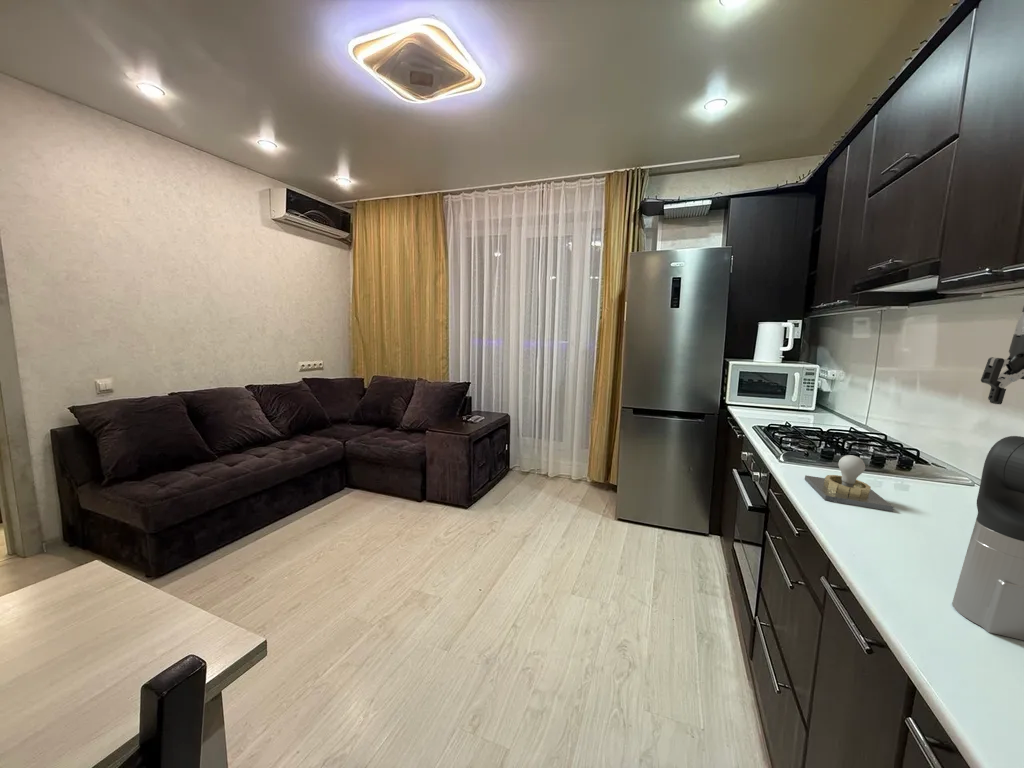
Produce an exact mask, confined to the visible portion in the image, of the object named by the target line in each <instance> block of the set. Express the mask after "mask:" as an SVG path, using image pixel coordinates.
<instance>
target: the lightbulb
mask: <svg viewBox="0 0 1024 768" xmlns="http://www.w3.org/2000/svg"><path fill="white" fill-rule="evenodd" d="M837 464H838V468H839V471H840V473H841V476H842V485H845V486H848V487H853V484H854V483H855V481H856V480H858V477H859V476H861V475H862V474H863V473H864V471H865V470H866V463H865V462H864V460H863V459H862V458H861V457H859V456H856V455H854V454H853V455H851V454H847V455H844V456H842V457H840V459H839V461H838V463H837Z"/></svg>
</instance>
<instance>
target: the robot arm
mask: <svg viewBox="0 0 1024 768" xmlns="http://www.w3.org/2000/svg"><path fill="white" fill-rule="evenodd" d="M1021 311H1022V312H1021V314H1020V316H1019V318H1018V320H1017V322H1016V326H1015V328H1014V332H1013V336H1012V340H1011V342H1010V346H1009V349H1008V353H1009V356H1008V357H1007V358H1001V357H992V356H991V357H989V358H988V359H987V362H986V365H985V368H984V370H983V372H982V376H981V379H980V382H981V383H983V384H986V385H989V386H990V390H989V394H988V397H987V400H988V401H989V403H990V404H995V405H1002V403H1003V402H1004V398H1005V395H1006V390H1007V388H1006V387H1007V386H1009V385H1010V384H1012V383H1013V382H1017V381H1019V380H1024V306H1023V307H1022V310H1021ZM1005 367H1006V369H1005V370H1004V371H1002V369H1003V368H1005ZM1001 371H1002V372H1001ZM976 497H977V499H976V508H977V514H976V519H975V521H974V525H973V529H972V533H971V536H970V539H969V543H968V545H967V550H966V553H965V556H964V560H963V562H962V563H963V564H962V566H961V570H960V574H959V578H958V581H957V584H956V588H955V591H954V594H953V600H952V602H951V604H952V607H953V608H954V610H955V611H957V612H958V613H959V614H960V615H961V616H963V617H964V618H966V619H967V620H969V621H971V622H973V623H974V624H976V625H978V626H979V627H982V628H983V630H985V631H986V632H988V633H991V634H994V635H998V636H999V635H1000V636H1005V637H1008V638H1013V639H1017V640H1021V641H1024V436H1021V435H1020V436H1018V435H1011V436H1005V437H1003V438H1000V440H997V441H996V442H995V443H994V444H993V445H992V446H991V448H990V449H989V451H988V453H987V455H986V458H985V459H984V463H983V467H982V473H981V478H980V484H979V489H978V493H977V496H976Z"/></svg>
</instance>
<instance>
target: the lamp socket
mask: <svg viewBox="0 0 1024 768" xmlns="http://www.w3.org/2000/svg"><path fill="white" fill-rule="evenodd" d="M803 480H804V481H805V482H807V484H808V485H809V486H810V487H811V488H812V489H813V490H814V491H815V492H816V493H817V494H818V495H819V496H820V497H821V498H822V500H823V501H827V502H833V503H837V504H838V503H839V504H844V505H850V506H854V507H855V506H856V507H862V508H868V509H875V510H880V511H886V512H894V508H895V507H894V506H893V504H891V503H890V502H888V501H887V500H886V499H885V498H883V497H882V496H880V495H879V494H878V493H877V492H875V491H874V490H873V489H871V488H872V487H871V486H870V485H869V484H867V482H863V481H861V480H858V479H856V481H855V483H854V484H853V487H848V486H845V485H842V475H838V474H827V475H826V476H825V477H821V476H820V477H819V476H812V475H804V479H803Z"/></svg>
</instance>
